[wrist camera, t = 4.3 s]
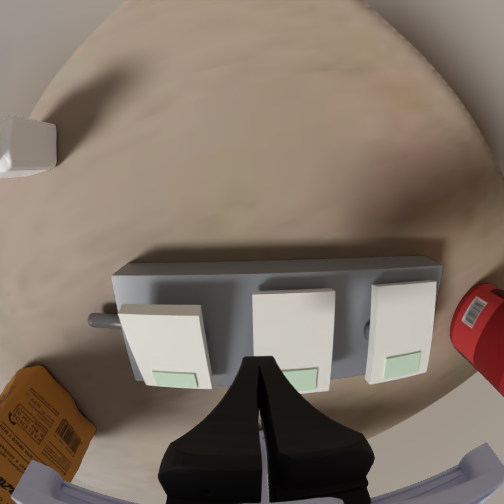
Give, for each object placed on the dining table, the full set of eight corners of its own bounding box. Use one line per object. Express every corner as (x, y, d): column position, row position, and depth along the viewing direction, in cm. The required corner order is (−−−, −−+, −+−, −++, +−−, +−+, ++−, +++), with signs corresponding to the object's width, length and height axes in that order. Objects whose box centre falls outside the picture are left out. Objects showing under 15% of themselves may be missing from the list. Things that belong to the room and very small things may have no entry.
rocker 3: (413, 363, 19) (427, 372, 17) (359, 373, 19) (370, 385, 17) (421, 278, 19) (437, 281, 17) (365, 282, 19) (378, 286, 17)
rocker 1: (214, 368, 20) (212, 390, 18) (151, 365, 20) (145, 386, 18) (202, 294, 17) (198, 317, 15) (128, 293, 17) (116, 315, 15)
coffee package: (64, 437, 27) (9, 545, 5) (9, 368, 24) (-78, 469, 2) (109, 436, 26) (55, 575, 5) (47, 357, 23) (-61, 493, 2)
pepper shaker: (59, 122, 18) (-21, 106, 8) (59, 168, 19) (-25, 171, 9) (28, 134, 18) (-49, 127, 8) (28, 177, 19) (-51, 185, 9)
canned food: (442, 357, 24) (498, 418, 13) (452, 290, 22) (530, 342, 11) (487, 336, 24) (542, 383, 13) (498, 274, 22) (568, 311, 11)
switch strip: (405, 346, 23) (420, 363, 20) (106, 356, 23) (93, 374, 20) (422, 255, 21) (442, 265, 18) (84, 263, 21) (66, 275, 18)
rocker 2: (321, 377, 19) (329, 391, 17) (254, 381, 19) (254, 397, 17) (326, 285, 19) (336, 291, 17) (251, 288, 19) (252, 295, 16)
